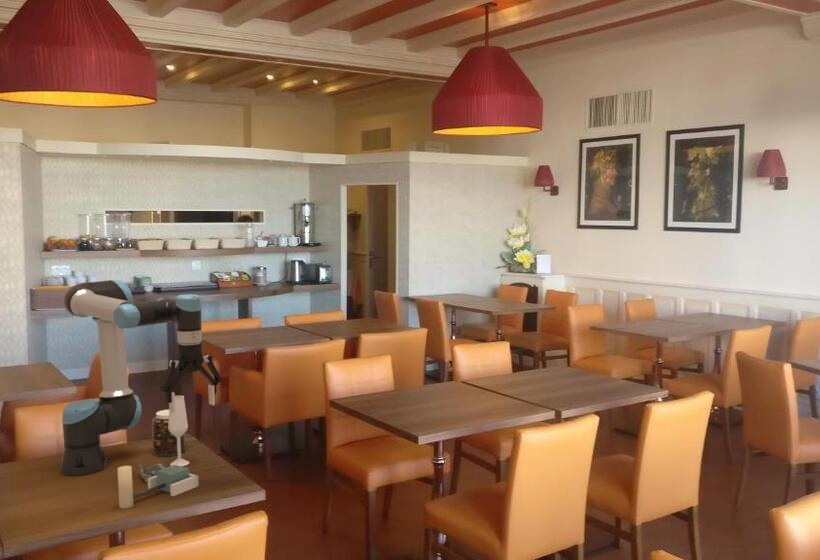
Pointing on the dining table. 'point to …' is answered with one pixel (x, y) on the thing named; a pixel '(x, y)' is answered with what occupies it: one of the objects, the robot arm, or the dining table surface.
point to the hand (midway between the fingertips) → (192, 408)
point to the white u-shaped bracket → (177, 484)
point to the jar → (164, 436)
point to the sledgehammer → (163, 481)
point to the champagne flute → (178, 427)
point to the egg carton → (149, 471)
